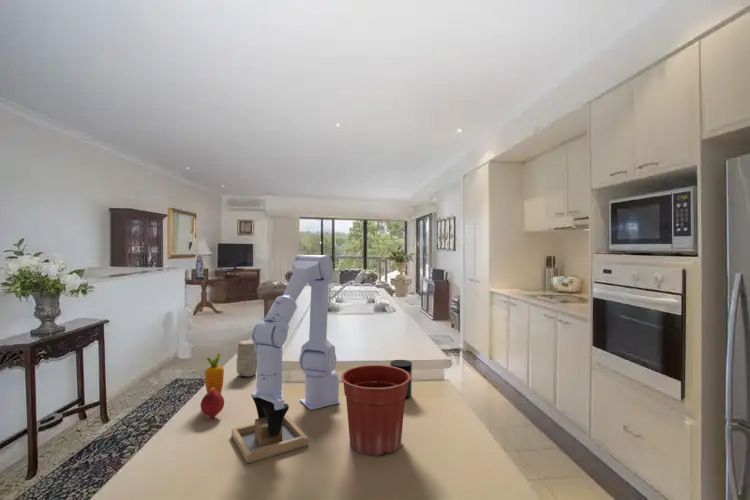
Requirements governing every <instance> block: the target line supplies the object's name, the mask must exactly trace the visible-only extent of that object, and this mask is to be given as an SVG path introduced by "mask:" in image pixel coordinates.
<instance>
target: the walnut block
mask: <svg viewBox="0 0 750 500" xmlns="http://www.w3.org/2000/svg"><path fill="white" fill-rule="evenodd" d="M254 423H255V439H256V441H257V442H258V444H259V445H260V447H264V446H268V445H271V444H275V443H278V442H282V426H281V430H280V434H279V435H277V436H274V437H270V435H269V431H268V423H267V418H266V417H263V418H255V419H254Z"/></svg>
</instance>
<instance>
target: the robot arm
mask: <svg viewBox="0 0 750 500" xmlns="http://www.w3.org/2000/svg"><path fill="white" fill-rule="evenodd" d="M332 261H333V260H332V259H331V257H330V256H329V255H328V254H321V255H319V254H318V255H317V254H314V255H313V254H300V253H299V254H297V255H296V256H295V258H294V260H293V262H292V265H291V268H292V275H291V277H290V279H289V281H288V283H287V286H286V288H285V290H284V292H283V294H282V295H279V296H277V297H276V298H275V300H274V301H273V303H272V304H271V307H270V308H269V311H267V313H266V316H265V317H264V319H263V320H261V321H260V322H258V323H256V324H255V325H254V327H253V330H252V334H251V340H252V341H253V343H254V345H255V351H256V353H257V370H256V371H257V372H256V383H255V384H256V390H255V391H252V392H251V395H250V396H251V398H252V400H253V402H254V405H255V409H256V412H257V419H259V418H263V417H266V418H267V423H268V431H269V435H270V437H274V436H277V435H279V434H280V430H281V426H282V422H283V419H284V416H286V415H287V412H288V410H289V408H290V407H289V404H288V403H285V399H284V397H283V395H284V394H283V392H284V391H283V381H282V380H283V346H284V345H285V343H286V342H287V339H288V333H289V329H290V325H289V324H290V322H291V320H292V319H293V316H294V314H295V312H296V311H297V307H298V306H297V303H296V301H297V300H298V298H299V296H300V295H301V293H302V291H304V289H305V287H306V285H309V286H310V306H309V307H310V310H309V312H310V313H309V333H308V334H309V335H308V341H306V342H305V343H303V344H302V346H301V348H300V349H301V351H300V354H299V359H298V365H299V368H300V369H301V370H302V374H304V375H305V376H304V380H305V381H304V385H305V386H304V389H305V390H304V395H305V396H304V397H303V398H300V399H299V401H300V402H301V403H302V404H303V405H304V406H305V407H307V408H308V409H309V410H311V411H313V410H317V409H321V408H325V407H329V406H333V405H338V404H340V402H341V401H340V400H339V395H340V392H339V391H340V389H339V388H340V385H339V382H340V381H339V380H340V379H339V375H338V373H337V371H336V370H335V369H336V366H337V356H336V346H335V345H334V344H332V343H331V342H330V341H329V340H328V339H327V336H328V335H327V334H328V311H329V310H328V307H329V306H328V305H329V285H330V284H331V283H332V282H333V270H334V269H333V268H334V263H333V262H332Z"/></svg>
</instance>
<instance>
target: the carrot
mask: <svg viewBox="0 0 750 500" xmlns="http://www.w3.org/2000/svg"><path fill="white" fill-rule="evenodd" d="M220 356H221V353H220V352H217V354H216V356H215V358H214V359H212V358H211V357H210V356H207V357H206V360H207V361H208V363H209V364H210V365H209V366H208V367H207V368H206V369H205V371H204V377H205V379H204V380H205V390H206V394H207V393H208V392H210V390H211V389H212V388H216V390H215V391H217V392H219V393H220V394H221V395H222V391H223V385H224V376H225V374H224V371H225V369H224V367H223V366H221V365H218V363H219V361H220Z"/></svg>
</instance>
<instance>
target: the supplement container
mask: <svg viewBox="0 0 750 500" xmlns="http://www.w3.org/2000/svg"><path fill="white" fill-rule="evenodd" d="M389 364H390V365H389V366H392V367H397V368H400V369H403V370H405V371H407V372H408V373H409V374H410V376H411V378H410V381H409V382H408V388H407V395H406V397H405V401H406V400H409V399H410V398H412V394H413V393H412V391H413V390H412V387H413V384H412V383H413V382H412V380H413V378H412V377H413V376H412V371H413V363H412V361H410V360H407V359H394V360H391V361H390V363H389Z"/></svg>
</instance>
